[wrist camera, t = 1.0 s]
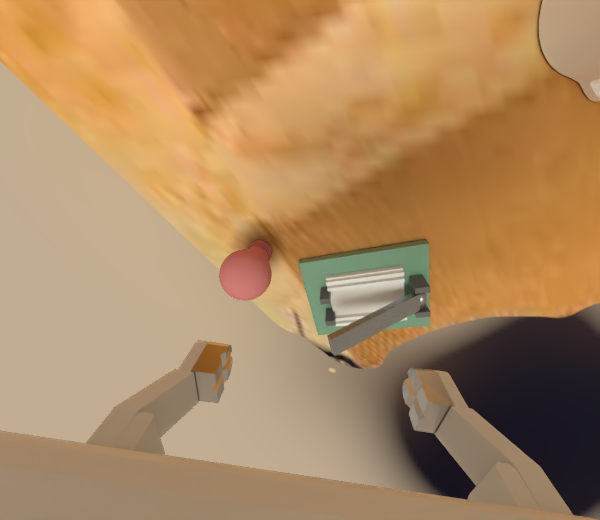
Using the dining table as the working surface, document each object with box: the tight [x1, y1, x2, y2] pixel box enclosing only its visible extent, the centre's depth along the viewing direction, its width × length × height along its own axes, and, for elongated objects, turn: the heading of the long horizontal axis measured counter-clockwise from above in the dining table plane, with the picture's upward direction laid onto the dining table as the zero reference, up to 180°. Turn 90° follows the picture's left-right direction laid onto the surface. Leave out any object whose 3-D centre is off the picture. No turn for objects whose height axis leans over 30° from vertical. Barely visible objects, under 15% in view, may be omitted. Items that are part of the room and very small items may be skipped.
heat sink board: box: [299, 240, 430, 335], centre depth 40 cm, size 20×16×5 cm
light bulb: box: [219, 240, 272, 300], centre depth 35 cm, size 7×7×12 cm
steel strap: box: [327, 292, 427, 355], centre depth 35 cm, size 17×3×2 cm, turn 104°
